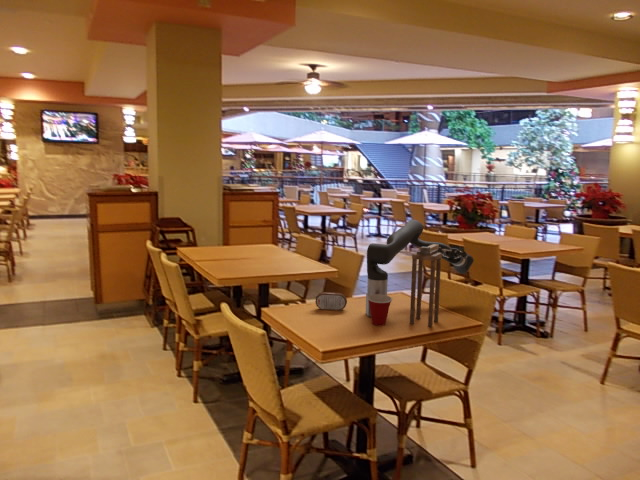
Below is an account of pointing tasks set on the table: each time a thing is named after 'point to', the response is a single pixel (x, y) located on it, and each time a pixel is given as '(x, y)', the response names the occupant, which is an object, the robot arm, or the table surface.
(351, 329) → the table surface
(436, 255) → the walnut stand
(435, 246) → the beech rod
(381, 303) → the plastic cup
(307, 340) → the table surface
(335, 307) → the tin
